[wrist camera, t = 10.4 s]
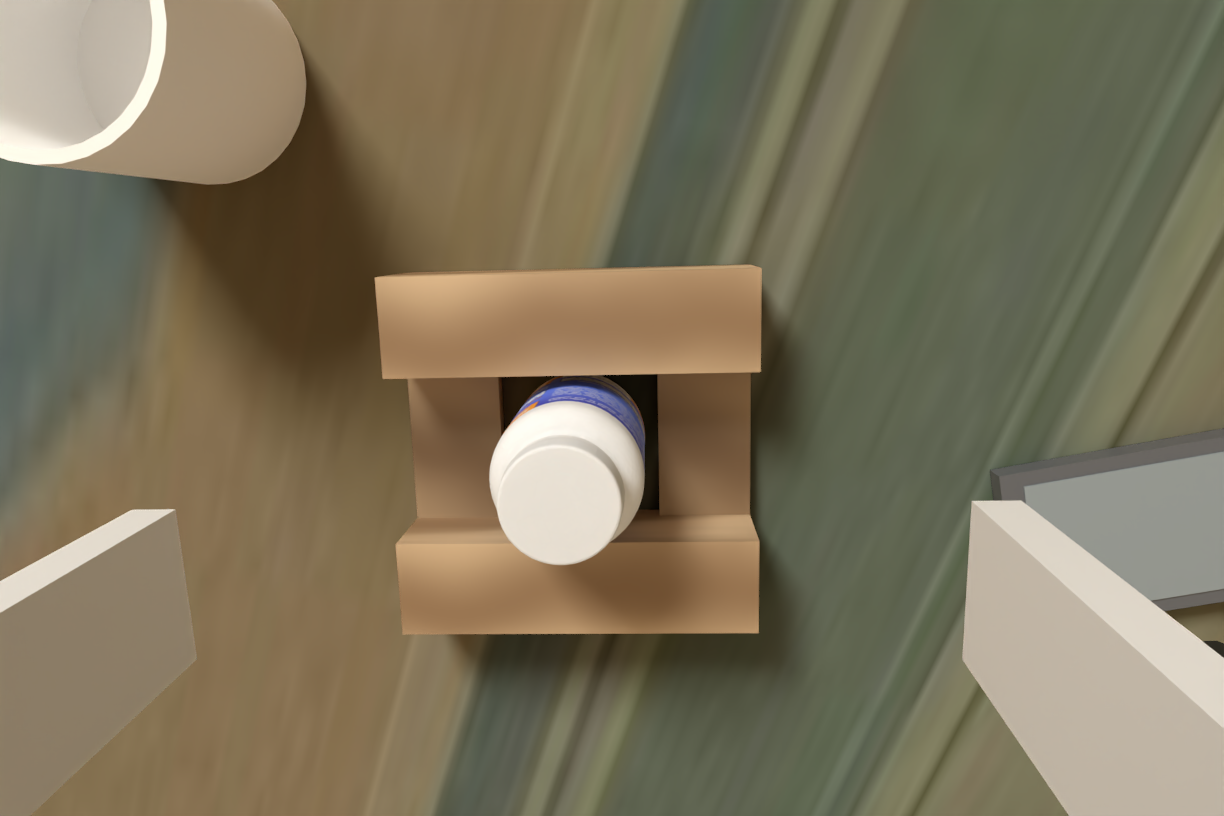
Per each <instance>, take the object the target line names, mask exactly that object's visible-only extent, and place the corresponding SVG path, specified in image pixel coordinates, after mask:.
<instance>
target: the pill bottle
mask: <svg viewBox="0 0 1224 816" xmlns="http://www.w3.org/2000/svg"><path fill="white" fill-rule="evenodd" d="M644 480H645V428H644V423H643V419H642V416H641V414H640V411H639V409H638V407H637V405H636V404H635V402H634V400H633V399H632V398H631V397H630V395H629V394H628V393H627V392H626V391H625V390H624V389H623V388H621V387H620V386H619V385H618V384H616V383H615V382H613V381H611V380H610V379H608V378H605V377H603V376H600V375H576V376H557V377H555V378H552V379H550V380H548V381H547V382H545V383H544V384H542V385H541V386H540V387H538V388H537V389H536V390H535V391H534V392H533V393H532V394H531V395H530V396H529V398H528V399H527V400H526V401H525V403H524V404H523V406H522V407H521V409H520V410H519V412H518V413H517V415H516V416H515V417H514V419H513V420H512V422H511V423H510V425H509V426H508V428H507V429H506V430H505V432H504V433H503V435H502V437H501V438H500V440H499V442H498V444H497V446H496V448H495V450H494V453H493V456H492V460H491V464H490V473H489V481H490V490H491V495H492V499H493V502H494V504H495V507H496V509H497V513H498V518H499V521H500V524H501V527H502V529H503V531H504V533H505V534H506V536H507V538H508V539H509V540H510V542H511V543H512V544H513V545H514V546H515V547H516V548H517V549H518V550H520V551H521V552H522V553H524V554H525V555H527V556H528V557H530V558H532V559H534V560H537V561H539V562H542V563H546V564H552V565H571V564H576V563H580V562H582V561H585V560H587V559H589V558H591V557H593V556H595V555H596V554H598V553H599V552H600V551H602V550H603V549H604V548H605V547H606V546H607V545H608V543H609V542H611V541H612V540H614V539H615V538H616V537H617V536H619V535H620V534H621V533H622V532H623V531H624V530H625V529H626V528H627V526H628V525H629V524H630V523H631V521H632V519H633V518H634V516H635V514H636V512H637V510H638V508H639V506H640V503H641V500H642V496H643V491H644Z"/></svg>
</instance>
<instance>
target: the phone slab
mask: <svg viewBox="0 0 1224 816" xmlns="http://www.w3.org/2000/svg"><path fill="white" fill-rule="evenodd" d="M990 476H991V484H992V492H993V500H994V501H1018V500H1021V501H1023V502H1024V503H1025V504H1027V505H1028V506H1029V507H1030V508H1032V509H1033V510H1034V511H1036V512H1037V513H1038V514H1039V515H1041V516H1042V517H1043V518H1045V519H1046V520H1047V521H1048V522H1050V523H1051V524H1052V525H1054V526H1055V527H1056V528H1057V529H1059V530H1060V531H1061V532H1063V533H1064V534H1065V535H1066V536H1068V537H1069V538H1070V539H1072V540H1073V541H1074V542H1075V543H1077V544H1078V545H1079V546H1081V547H1082V548H1083V549H1084V550H1086V551H1087V552H1088V553H1090V554H1091V555H1092V556H1093V557H1095V558H1096V559H1097V560H1099V561H1100V562H1101V563H1102V564H1104V565H1105V566H1106V567H1108V568H1109V569H1110V570H1111V571H1113V572H1114V573H1115V574H1117V575H1118V576H1119V577H1120V578H1122V579H1123V580H1124V581H1126V582H1127V583H1128V584H1129V585H1131V586H1132V587H1133V588H1135V589H1136V590H1137V591H1138V592H1140V593H1141V594H1142V595H1144V596H1145V597H1146V598H1147V599H1149V600H1150V601H1151V602H1153V603H1154V604H1155V605H1156V606H1158V607H1159V608H1160V609H1162V610H1163V611H1169V610H1175V609H1181V608H1187V607H1193V606H1199V605H1206V604H1212V603H1218V602H1224V428H1223V429H1218V430H1212V431H1206V432H1201V433H1195V434H1190V435H1184V436H1178V437H1173V438H1167V439H1161V440H1156V441H1150V442H1145V443H1139V444H1133V445H1128V446H1122V447H1116V448H1111V449H1105V450H1099V451H1094V452H1088V453H1083V454H1077V455H1071V456H1066V457H1060V458H1054V459H1049V460H1043V461H1038V462H1032V463H1026V464H1021V465H1015V466H1009V467H1004V468H998V469H992V470H990Z"/></svg>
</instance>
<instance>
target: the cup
mask: <svg viewBox="0 0 1224 816" xmlns="http://www.w3.org/2000/svg"><path fill="white" fill-rule="evenodd" d="M305 95H306V75H305V65H304V60H303V56H302V53H301V50H300V46H299V43H298V40H297V38H296V36H295V34H294V32H293V30H292V28H291V26H290V24H289V22H288V20H287V19H286V18H285V16H284V15H283V14H282V12H281V11H280V10H279V8H278V7H277V6H276V4H275V3H274V2H273V1H272V0H0V157H1V158H3V159H6V160H9V161H15V162H21V163H27V164H33V165H41V166H50V167H59V168H68V169H76V170H85V171H94V172H103V173H111V174H120V175H129V176H137V177H146V178H155V179H164V180H172V181H181V182H190V183H198V184H207V185H210V184H228V183H232V182H236V181H240V180H244V179H247V178H249V177H251V176H253V175H255V174H257V173H259V172H261V171H263V170H264V169H265V168H266V167H268V166H269V165H270V164H271V163H272V162H274V161H275V160H276V159H277V158H278V157H279V156H280V155H281V154H282V152H283V151H284V150H285V149H286V147H287V146H288V145H289V144H290V142H291V140H292V138H293V136H294V134H295V132H296V130H297V128H298V126H299V124H300V120H301V116H302V113H303V109H304V106H305Z"/></svg>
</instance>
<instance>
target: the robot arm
mask: <svg viewBox="0 0 1224 816" xmlns="http://www.w3.org/2000/svg"><path fill="white" fill-rule="evenodd" d="M195 660H197V655H196V648H195V642H194V635H193V628H192V621H191V614H190V607H189V600H188V593H187V586H186V579H185V572H184V565H183V558H182V551H181V544H180V537H179V530H178V523H177V516H176V509H167V510H131V511H129V512H127V513H125V514H123V515H121V516H120V517H118V518H116V519H114V520H112V521H110V522H109V523H107V524H105V525H103V526H101V527H99V528H97V529H96V530H94V531H92V532H90V533H88V534H86V535H85V536H83V537H81V538H79V539H77V540H75V541H74V542H72V543H70V544H68V545H66V546H64V547H62V548H61V549H59V550H57V551H55V552H53V553H51V554H50V555H48V556H46V557H44V558H42V559H40V560H38V561H37V562H35V563H33V564H31V565H29V566H27V567H26V568H24V569H22V570H20V571H18V572H16V573H14V574H13V575H11V576H9V577H7V578H5V579H3V580H2V581H0V816H30V815H31V814H32V813H33V812H35V811H36V810H37V809H38V808H39V807H40V806H41V805H42V804H43V803H44V802H45V801H46V800H47V799H48V798H49V797H51V796H52V795H53V794H54V793H55V792H56V791H57V790H58V789H59V788H60V787H61V786H62V785H63V784H64V783H65V782H67V781H68V780H69V779H70V778H71V777H72V776H73V775H74V774H75V773H76V772H77V771H78V770H79V769H80V768H81V767H82V766H84V765H85V764H86V763H87V762H88V761H89V760H90V759H91V758H92V757H93V756H94V755H95V754H96V753H97V752H98V751H100V750H101V749H102V748H103V747H104V746H105V745H106V744H107V743H108V742H109V741H110V740H111V739H112V738H113V737H114V736H116V735H117V734H118V733H119V732H120V731H121V730H122V729H123V728H124V727H125V726H126V725H127V724H128V723H129V722H130V721H132V720H133V719H134V718H135V717H136V716H137V715H138V714H139V713H140V712H141V711H142V710H143V709H144V708H145V707H146V706H148V705H149V704H150V703H151V702H152V701H153V700H154V699H155V698H156V697H157V696H158V695H159V694H160V693H161V692H162V691H164V690H165V689H166V688H167V687H168V686H169V685H170V684H171V683H172V682H173V681H174V680H175V679H176V678H177V677H178V676H179V675H181V674H182V673H183V672H184V671H185V670H186V669H187V668H188V667H189V666H190V665H191V664H192V663H193V662H194V661H195ZM962 660H963V661H964V663H965V664H966V666H967V667H968V669H969V670H970V671H971V673H972V674H973V676H974V677H975V679H976V680H977V682H978V683H979V685H980V686H981V688H982V689H983V691H984V692H985V693H986V695H987V696H988V698H989V699H990V701H991V702H992V704H993V705H994V707H995V708H996V710H997V711H998V712H999V714H1000V715H1001V717H1002V718H1003V720H1004V721H1005V723H1006V724H1007V726H1008V727H1009V729H1010V730H1011V731H1012V733H1013V734H1014V736H1015V737H1016V739H1017V740H1018V742H1019V743H1020V745H1021V746H1022V748H1023V749H1024V750H1025V752H1026V753H1027V755H1028V756H1029V758H1030V759H1031V761H1032V762H1033V764H1034V765H1035V767H1036V768H1037V770H1038V771H1039V772H1040V774H1041V775H1042V777H1043V778H1044V780H1045V781H1046V783H1047V784H1048V786H1049V787H1050V789H1051V790H1052V791H1053V793H1054V794H1055V796H1056V797H1057V799H1058V800H1059V802H1060V803H1061V805H1062V806H1063V808H1064V809H1065V810H1066V812H1067V813H1068V815H1069V816H1224V644H1223V643H1221V642H1218V641H1201V640H1200V639H1199V638H1198V637H1196V636H1195V635H1194V634H1192V633H1191V632H1190V631H1189V630H1187V629H1186V628H1185V627H1183V626H1182V625H1181V624H1180V623H1178V622H1177V621H1176V620H1174V619H1173V618H1172V617H1171V616H1169V615H1168V614H1167V613H1165V612H1164V611H1163V610H1162V609H1160V608H1159V607H1158V606H1156V605H1155V604H1154V603H1153V602H1151V601H1150V600H1149V599H1147V598H1146V597H1145V596H1144V595H1142V594H1141V593H1140V592H1138V591H1137V590H1136V589H1135V588H1133V587H1132V586H1131V585H1129V584H1128V583H1127V582H1126V581H1124V580H1123V579H1122V578H1120V577H1119V576H1118V575H1117V574H1115V573H1114V572H1113V571H1111V570H1110V569H1109V568H1108V567H1106V566H1105V565H1104V564H1102V563H1101V562H1100V561H1099V560H1097V559H1096V558H1095V557H1093V556H1092V555H1091V554H1090V553H1088V552H1087V551H1086V550H1084V549H1083V548H1082V547H1081V546H1079V545H1078V544H1077V543H1075V542H1074V541H1073V540H1072V539H1070V538H1069V537H1068V536H1066V535H1065V534H1064V533H1063V532H1061V531H1060V530H1059V529H1057V528H1056V527H1055V526H1054V525H1052V524H1051V523H1050V522H1048V521H1047V520H1046V519H1045V518H1043V517H1042V516H1041V515H1039V514H1038V513H1037V512H1036V511H1034V510H1033V509H1032V508H1030V507H1029V506H1028V505H1027V504H1025V503H1024V502H1023V501H1021V500H1018V501H972V508H971V524H970V541H969V558H968V575H967V591H966V608H965V625H964V641H963V658H962Z"/></svg>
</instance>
